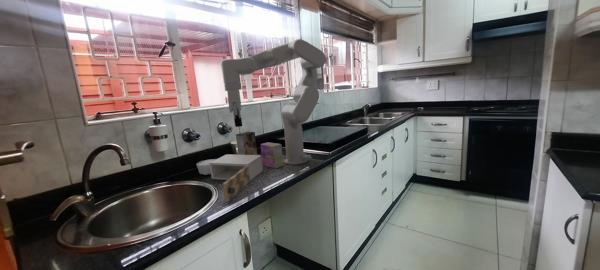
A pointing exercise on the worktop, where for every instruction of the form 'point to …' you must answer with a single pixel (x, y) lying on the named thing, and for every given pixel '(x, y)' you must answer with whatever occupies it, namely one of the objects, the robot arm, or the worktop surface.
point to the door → (236, 183)
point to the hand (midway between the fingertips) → (238, 126)
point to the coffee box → (246, 143)
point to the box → (272, 155)
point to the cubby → (235, 166)
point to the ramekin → (204, 166)
